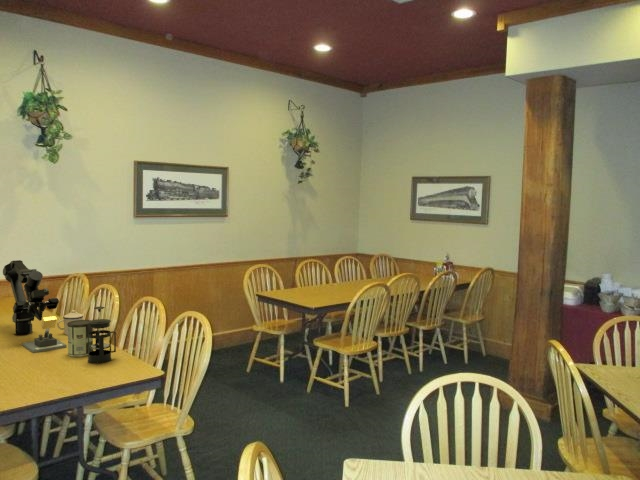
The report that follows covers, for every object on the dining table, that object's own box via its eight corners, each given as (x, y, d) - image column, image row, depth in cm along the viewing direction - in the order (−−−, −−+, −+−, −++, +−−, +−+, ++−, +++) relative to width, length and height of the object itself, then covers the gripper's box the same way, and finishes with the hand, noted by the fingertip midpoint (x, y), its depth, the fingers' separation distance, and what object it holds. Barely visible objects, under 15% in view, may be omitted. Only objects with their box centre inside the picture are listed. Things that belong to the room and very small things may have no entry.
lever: (39, 335, 242) (43, 317, 237) (51, 334, 245) (55, 316, 240) (40, 338, 241) (44, 320, 236) (52, 337, 244) (56, 319, 239)
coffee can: (87, 349, 243) (86, 318, 242) (97, 353, 236) (96, 322, 235) (63, 353, 235) (63, 321, 234) (73, 358, 228) (73, 326, 227)
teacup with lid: (82, 330, 276) (81, 308, 275) (84, 334, 268) (84, 311, 267) (56, 332, 270) (56, 310, 269) (58, 337, 262) (57, 313, 261)
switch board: (22, 345, 246) (21, 332, 245) (54, 340, 256) (54, 328, 255) (33, 353, 234) (33, 339, 234) (66, 347, 244) (66, 334, 244)
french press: (87, 365, 220) (87, 310, 218) (84, 359, 227) (83, 306, 226) (117, 361, 226) (117, 307, 224) (113, 355, 234) (113, 303, 232)
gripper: (14, 284, 243) (22, 312, 236) (57, 281, 257) (66, 307, 250) (9, 298, 249) (17, 326, 242) (51, 294, 263) (59, 321, 256)
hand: (40, 320), depth 247 cm, fingers closed
